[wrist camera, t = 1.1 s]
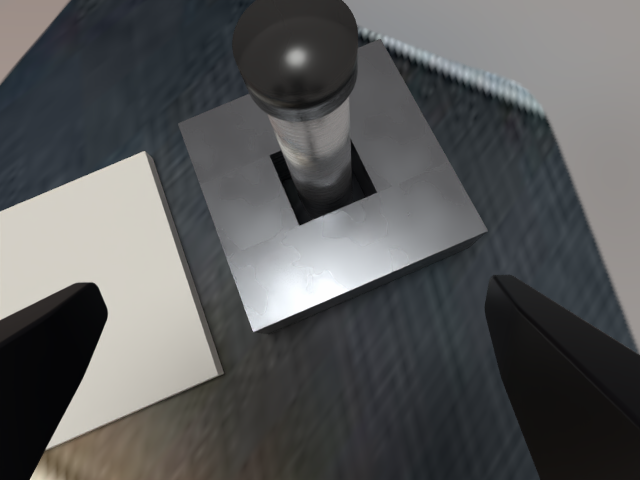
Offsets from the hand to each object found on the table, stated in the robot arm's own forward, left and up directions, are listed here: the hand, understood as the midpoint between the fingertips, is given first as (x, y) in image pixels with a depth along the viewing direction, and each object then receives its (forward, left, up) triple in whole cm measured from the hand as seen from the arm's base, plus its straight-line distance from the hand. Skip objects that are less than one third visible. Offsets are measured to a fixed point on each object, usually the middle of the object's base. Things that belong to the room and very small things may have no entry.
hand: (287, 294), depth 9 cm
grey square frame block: (+7, -3, -13) cm, 15 cm away
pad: (+7, +13, -13) cm, 20 cm away
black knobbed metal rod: (+7, -3, -13) cm, 15 cm away
